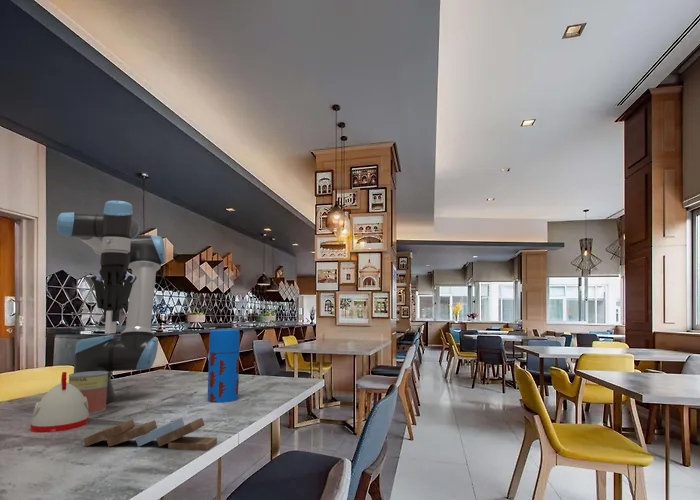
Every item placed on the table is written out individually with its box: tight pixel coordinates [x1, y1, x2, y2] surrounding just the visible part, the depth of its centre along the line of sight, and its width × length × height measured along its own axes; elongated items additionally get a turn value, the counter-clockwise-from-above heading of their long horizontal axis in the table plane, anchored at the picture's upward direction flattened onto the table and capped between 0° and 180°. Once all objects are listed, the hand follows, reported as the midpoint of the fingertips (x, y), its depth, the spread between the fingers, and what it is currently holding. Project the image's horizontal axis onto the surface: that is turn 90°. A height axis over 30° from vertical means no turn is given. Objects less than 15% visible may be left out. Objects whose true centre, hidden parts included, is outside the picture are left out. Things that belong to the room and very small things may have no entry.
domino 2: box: [106, 420, 158, 448], centre depth 105 cm, size 2×5×10 cm
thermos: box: [207, 329, 241, 404], centre depth 155 cm, size 11×11×25 cm
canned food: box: [68, 371, 109, 415], centre depth 139 cm, size 11×11×12 cm
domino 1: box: [83, 418, 136, 447], centre depth 105 cm, size 2×5×10 cm
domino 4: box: [156, 417, 205, 447], centre depth 103 cm, size 2×5×10 cm
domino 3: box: [135, 417, 185, 447], centre depth 104 cm, size 2×5×10 cm
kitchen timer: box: [30, 371, 90, 434], centre depth 123 cm, size 14×14×15 cm
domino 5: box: [167, 435, 218, 452], centre depth 102 cm, size 2×5×10 cm
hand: (110, 333), depth 122 cm, fingers closed
